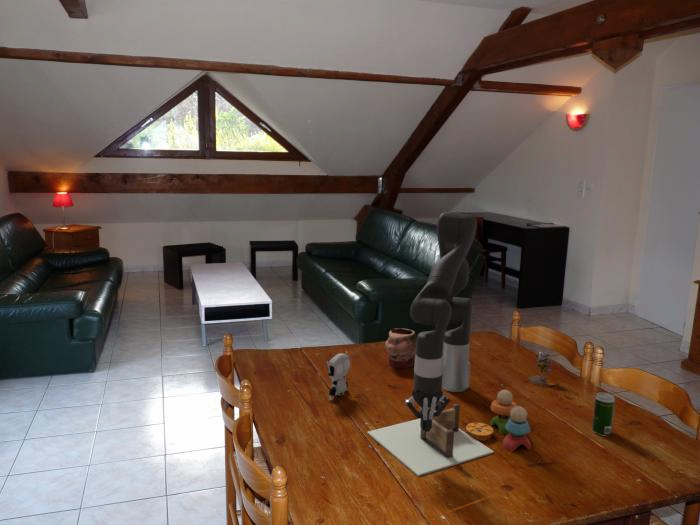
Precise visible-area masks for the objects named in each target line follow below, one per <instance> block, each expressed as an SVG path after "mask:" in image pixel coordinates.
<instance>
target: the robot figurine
mask: <svg viewBox="0 0 700 525" xmlns="http://www.w3.org/2000/svg"><path fill="white" fill-rule="evenodd" d="M548 357H550V354H549V353H547V354H545V353H543V352H542V351H539V355H537V354H536V355H535V358H537V360H535V363H534V367H535V366H536V367H537V368H538V370H539V371H540V375H541V376H539V374H536V375H533V376H529V377H527V379H528V380H530V381H531V382H532V383H533V384H537V385H536V386H538V385H543V386H546V385H547V386H549V385H548V384H546V383H548V382H546V380H547V379H546V377H547V371H549V372H550V371H551V370H552V366H553V360H552V359H550V360H549V358H548ZM543 371H544V372H545V373H544V376H545V377H542V376H543V374H542V373H543ZM530 381H529V382H530ZM531 382H530V383H531ZM532 383H531V384H532ZM533 384H532V385H533ZM543 386H542V387H543Z"/></svg>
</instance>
